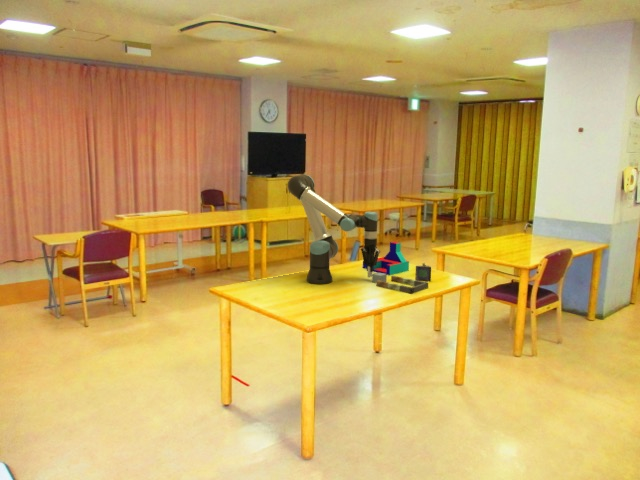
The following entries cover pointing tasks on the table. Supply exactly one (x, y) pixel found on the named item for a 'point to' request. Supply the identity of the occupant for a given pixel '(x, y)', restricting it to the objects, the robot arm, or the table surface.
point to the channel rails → (395, 286)
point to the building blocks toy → (391, 261)
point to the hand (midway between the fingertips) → (369, 276)
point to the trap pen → (417, 287)
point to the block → (379, 277)
